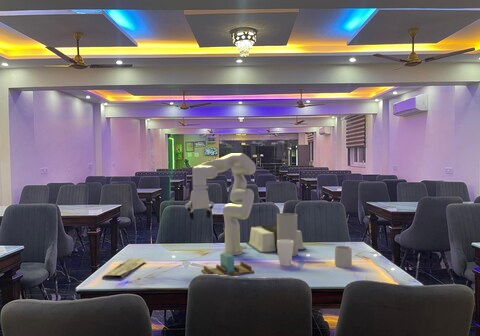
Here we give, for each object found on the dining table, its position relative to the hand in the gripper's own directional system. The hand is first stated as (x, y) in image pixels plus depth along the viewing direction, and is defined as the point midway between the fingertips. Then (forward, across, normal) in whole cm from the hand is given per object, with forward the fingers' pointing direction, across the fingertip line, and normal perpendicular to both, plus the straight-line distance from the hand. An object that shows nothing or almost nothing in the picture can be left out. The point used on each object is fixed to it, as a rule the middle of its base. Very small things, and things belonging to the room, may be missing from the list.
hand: (200, 218), depth 210 cm
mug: (+27, -69, +40) cm, 84 cm away
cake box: (+28, -62, -20) cm, 71 cm away
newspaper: (+26, +39, -10) cm, 48 cm away
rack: (+26, -6, +21) cm, 34 cm away
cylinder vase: (+27, -55, +4) cm, 62 cm away
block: (+25, -6, +21) cm, 33 cm away
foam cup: (+27, -42, +23) cm, 54 cm away
